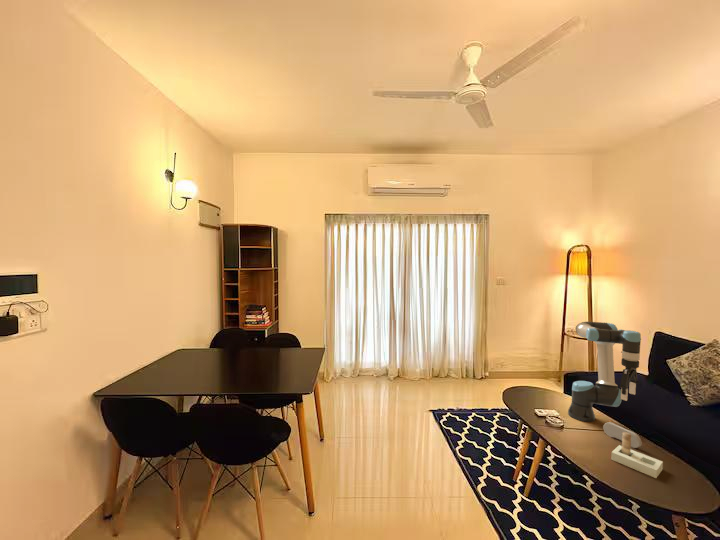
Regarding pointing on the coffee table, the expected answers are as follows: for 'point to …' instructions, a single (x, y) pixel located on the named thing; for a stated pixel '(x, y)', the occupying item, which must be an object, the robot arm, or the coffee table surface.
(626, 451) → the peg
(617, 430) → the grey flat oval slab
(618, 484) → the coffee table surface
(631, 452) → the socket block
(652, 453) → the coffee table surface
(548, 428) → the coffee table surface
